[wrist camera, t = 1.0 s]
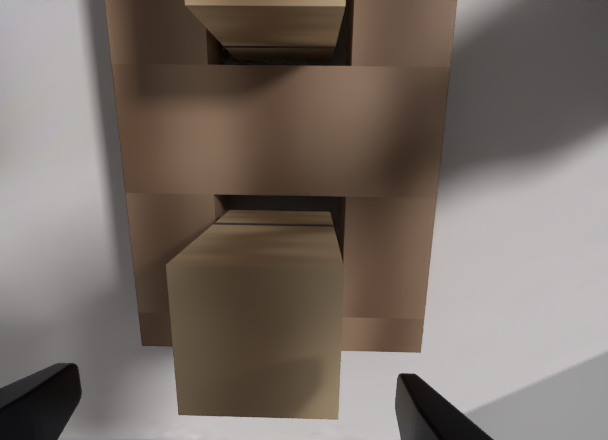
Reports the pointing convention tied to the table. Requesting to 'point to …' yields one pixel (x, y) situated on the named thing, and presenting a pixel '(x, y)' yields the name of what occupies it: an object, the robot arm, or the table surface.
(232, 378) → the oak peg
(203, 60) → the walnut board
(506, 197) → the table surface
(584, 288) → the table surface
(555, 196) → the table surface
